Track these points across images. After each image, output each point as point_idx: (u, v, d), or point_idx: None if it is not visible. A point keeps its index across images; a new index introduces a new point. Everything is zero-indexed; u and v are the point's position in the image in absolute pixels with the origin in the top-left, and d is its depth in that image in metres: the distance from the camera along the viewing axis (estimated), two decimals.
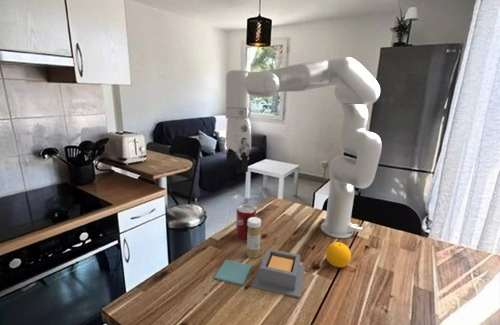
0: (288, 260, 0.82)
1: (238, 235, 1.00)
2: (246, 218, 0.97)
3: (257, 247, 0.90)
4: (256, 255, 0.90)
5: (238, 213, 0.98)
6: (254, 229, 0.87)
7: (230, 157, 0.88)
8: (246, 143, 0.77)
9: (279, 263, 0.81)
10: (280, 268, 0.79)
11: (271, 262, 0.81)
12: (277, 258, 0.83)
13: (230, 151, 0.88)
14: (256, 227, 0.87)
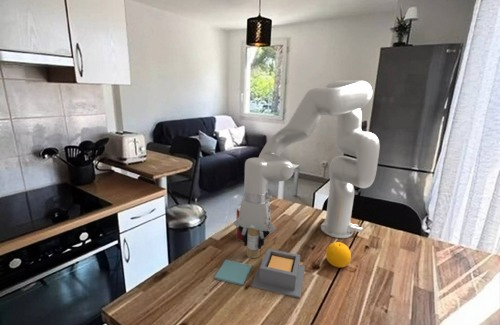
0: (288, 260, 0.82)
1: (238, 235, 1.00)
2: None
3: (257, 247, 0.90)
4: (256, 255, 0.90)
5: (238, 213, 0.98)
6: (253, 229, 0.87)
7: None
8: (272, 224, 0.87)
9: (279, 263, 0.81)
10: (280, 268, 0.79)
11: (271, 262, 0.81)
12: (277, 258, 0.83)
13: (246, 232, 0.90)
14: None
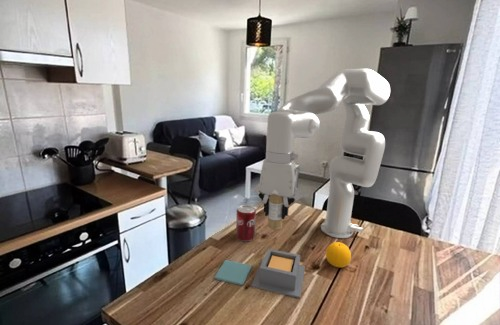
0: (288, 260, 0.82)
1: (238, 235, 1.00)
2: (246, 218, 0.97)
3: (280, 217, 0.78)
4: (279, 226, 0.79)
5: (238, 213, 0.98)
6: (276, 195, 0.76)
7: (268, 208, 0.79)
8: (298, 190, 0.76)
9: (279, 263, 0.81)
10: (280, 268, 0.79)
11: (271, 262, 0.81)
12: (277, 258, 0.83)
13: (268, 200, 0.79)
14: None
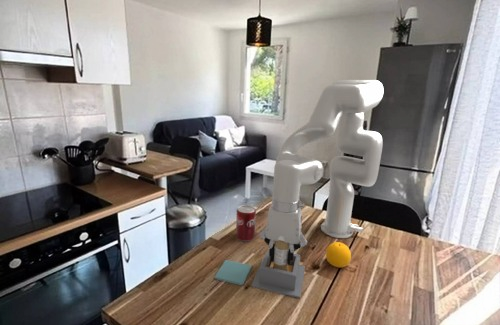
0: None
1: (238, 235, 1.00)
2: (246, 218, 0.97)
3: (286, 262, 0.79)
4: None
5: (238, 213, 0.98)
6: (283, 241, 0.76)
7: None
8: (303, 237, 0.76)
9: None
10: None
11: None
12: None
13: (274, 245, 0.79)
14: None
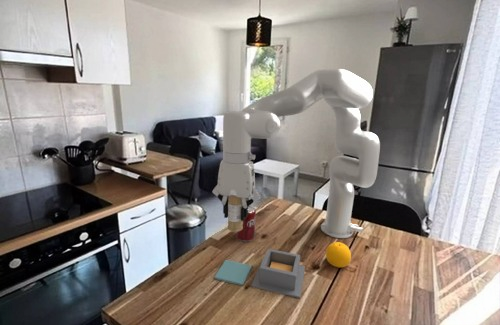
0: (287, 266, 0.83)
1: (238, 235, 1.00)
2: (246, 218, 0.97)
3: (239, 219, 0.76)
4: (238, 228, 0.77)
5: None
6: (235, 196, 0.74)
7: None
8: (256, 191, 0.74)
9: (279, 269, 0.82)
10: None
11: None
12: (277, 264, 0.84)
13: (227, 201, 0.77)
14: None
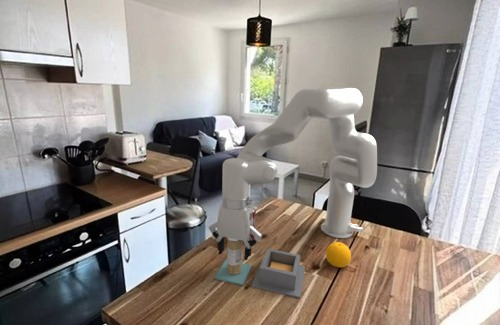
0: (287, 266, 0.83)
1: None
2: None
3: (238, 262, 0.80)
4: (237, 271, 0.81)
5: None
6: (233, 242, 0.78)
7: (222, 246, 0.81)
8: (256, 231, 0.77)
9: (279, 269, 0.82)
10: None
11: None
12: (277, 264, 0.84)
13: (221, 239, 0.81)
14: (236, 240, 0.78)
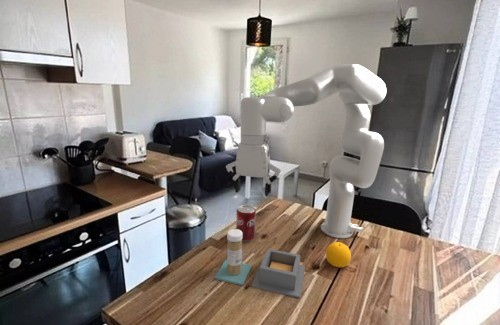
0: (287, 266, 0.83)
1: None
2: (246, 218, 0.97)
3: (238, 263, 0.80)
4: (237, 271, 0.81)
5: (238, 213, 0.98)
6: (234, 243, 0.78)
7: (238, 184, 0.84)
8: (274, 166, 0.80)
9: (279, 269, 0.82)
10: None
11: None
12: (277, 264, 0.84)
13: (237, 178, 0.84)
14: (236, 241, 0.78)
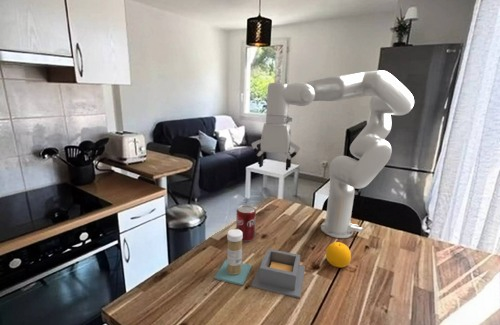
0: (287, 266, 0.83)
1: None
2: (246, 218, 0.97)
3: (238, 263, 0.80)
4: (237, 271, 0.81)
5: (238, 213, 0.98)
6: (234, 242, 0.78)
7: (262, 160, 0.96)
8: (295, 144, 0.92)
9: (279, 269, 0.82)
10: None
11: None
12: (277, 264, 0.84)
13: (261, 155, 0.96)
14: (237, 241, 0.78)
